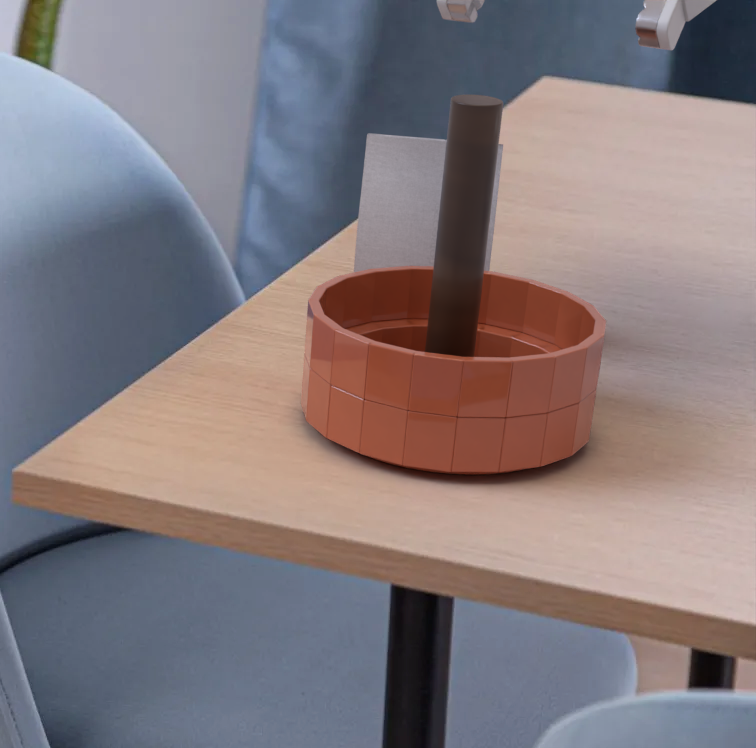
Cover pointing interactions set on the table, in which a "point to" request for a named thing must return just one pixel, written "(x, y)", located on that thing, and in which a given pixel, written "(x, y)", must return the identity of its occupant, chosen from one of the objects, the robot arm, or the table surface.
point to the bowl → (451, 373)
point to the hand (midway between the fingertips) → (550, 26)
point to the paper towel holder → (463, 224)
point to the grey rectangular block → (405, 202)
